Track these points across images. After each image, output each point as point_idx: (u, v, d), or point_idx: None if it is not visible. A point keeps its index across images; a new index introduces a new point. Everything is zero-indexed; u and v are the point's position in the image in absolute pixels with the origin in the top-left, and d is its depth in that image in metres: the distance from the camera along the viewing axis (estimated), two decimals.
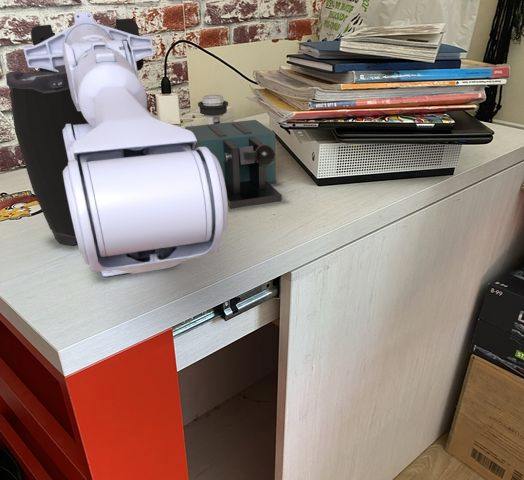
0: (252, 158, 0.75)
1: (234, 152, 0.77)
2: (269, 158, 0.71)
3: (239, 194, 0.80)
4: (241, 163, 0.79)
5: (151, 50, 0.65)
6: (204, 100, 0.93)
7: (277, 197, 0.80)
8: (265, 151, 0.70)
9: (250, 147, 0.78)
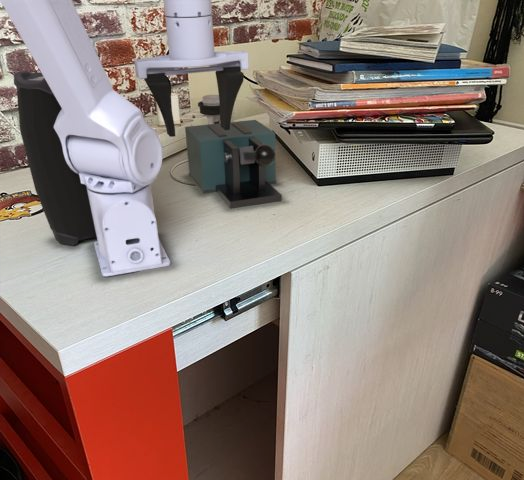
0: (252, 158, 0.75)
1: (234, 152, 0.77)
2: (269, 158, 0.71)
3: (239, 194, 0.80)
4: (241, 163, 0.79)
5: None
6: (204, 100, 0.93)
7: (277, 197, 0.80)
8: (265, 151, 0.70)
9: (250, 147, 0.78)
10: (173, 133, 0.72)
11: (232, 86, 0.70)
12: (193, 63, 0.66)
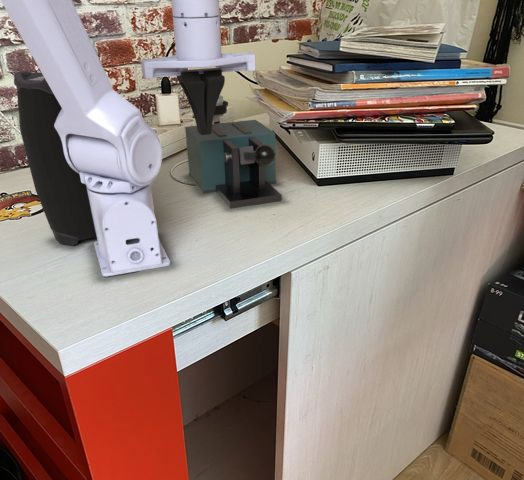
0: (252, 158, 0.75)
1: (234, 152, 0.77)
2: (269, 158, 0.71)
3: (239, 194, 0.80)
4: (241, 163, 0.79)
5: None
6: None
7: (277, 197, 0.80)
8: (265, 151, 0.70)
9: (250, 147, 0.78)
10: (204, 131, 0.72)
11: (213, 90, 0.69)
12: (200, 64, 0.66)
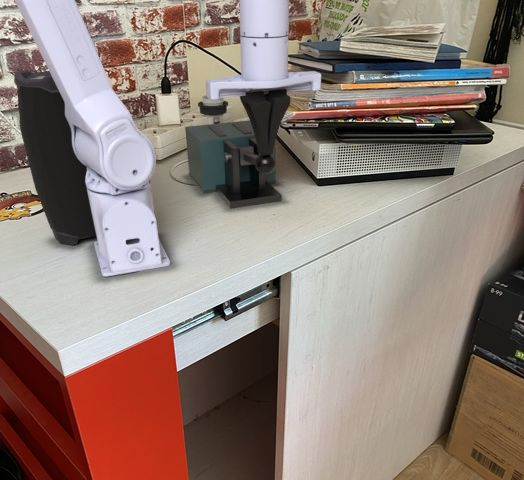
0: (252, 163, 0.75)
1: (234, 152, 0.77)
2: (270, 167, 0.71)
3: (239, 194, 0.80)
4: (241, 164, 0.79)
5: None
6: (204, 100, 0.93)
7: (277, 197, 0.80)
8: (266, 160, 0.71)
9: (250, 148, 0.78)
10: (266, 152, 0.70)
11: (278, 110, 0.67)
12: (268, 84, 0.64)
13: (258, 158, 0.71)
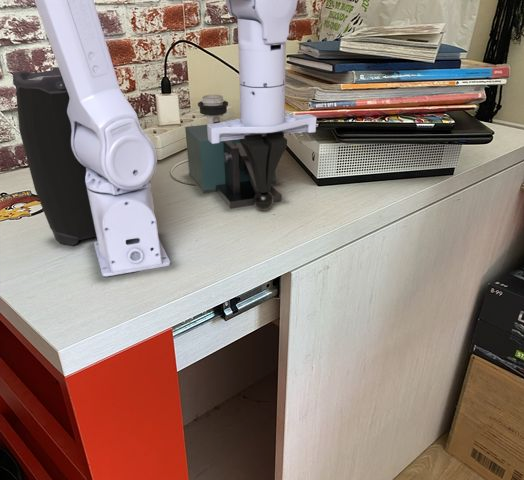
0: (251, 183, 0.78)
1: (234, 152, 0.77)
2: (267, 208, 0.76)
3: (239, 194, 0.80)
4: (239, 167, 0.80)
5: None
6: (204, 100, 0.93)
7: (277, 197, 0.80)
8: (264, 203, 0.75)
9: None
10: (264, 190, 0.74)
11: (275, 152, 0.70)
12: (266, 129, 0.68)
13: (258, 198, 0.75)
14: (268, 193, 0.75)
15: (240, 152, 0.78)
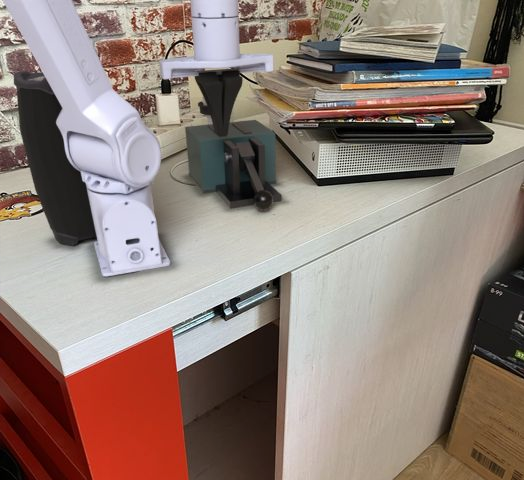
0: (251, 184, 0.78)
1: (234, 152, 0.77)
2: (267, 208, 0.76)
3: (239, 194, 0.80)
4: (239, 167, 0.80)
5: None
6: (204, 100, 0.93)
7: (277, 197, 0.80)
8: (264, 204, 0.75)
9: (252, 156, 0.78)
10: (221, 132, 0.72)
11: (230, 90, 0.68)
12: (218, 64, 0.66)
13: (258, 199, 0.75)
14: (268, 194, 0.75)
15: (240, 152, 0.78)
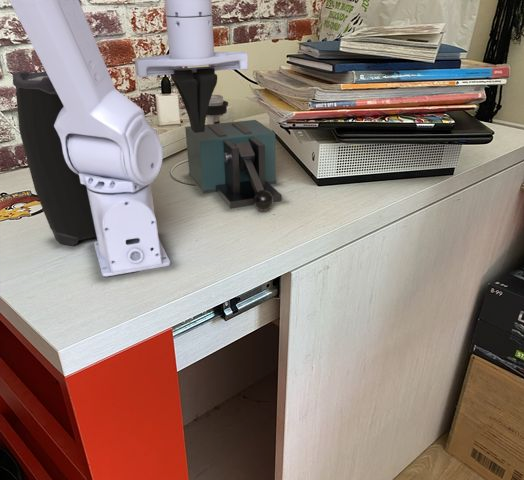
0: (251, 184, 0.78)
1: (234, 152, 0.77)
2: (267, 208, 0.76)
3: (239, 194, 0.80)
4: (239, 167, 0.80)
5: None
6: None
7: (277, 197, 0.80)
8: (264, 204, 0.75)
9: (252, 156, 0.78)
10: (198, 129, 0.73)
11: (206, 88, 0.70)
12: (193, 62, 0.67)
13: (258, 199, 0.75)
14: (268, 194, 0.75)
15: (240, 152, 0.78)
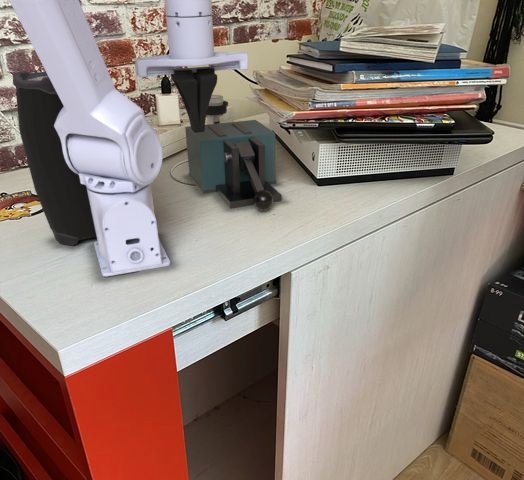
0: (251, 184, 0.78)
1: (234, 152, 0.77)
2: (267, 208, 0.76)
3: (239, 194, 0.80)
4: (239, 167, 0.80)
5: None
6: None
7: (277, 197, 0.80)
8: (264, 204, 0.75)
9: (252, 156, 0.78)
10: (198, 129, 0.73)
11: (206, 88, 0.70)
12: (193, 62, 0.67)
13: (258, 199, 0.75)
14: (268, 194, 0.75)
15: (240, 152, 0.78)
